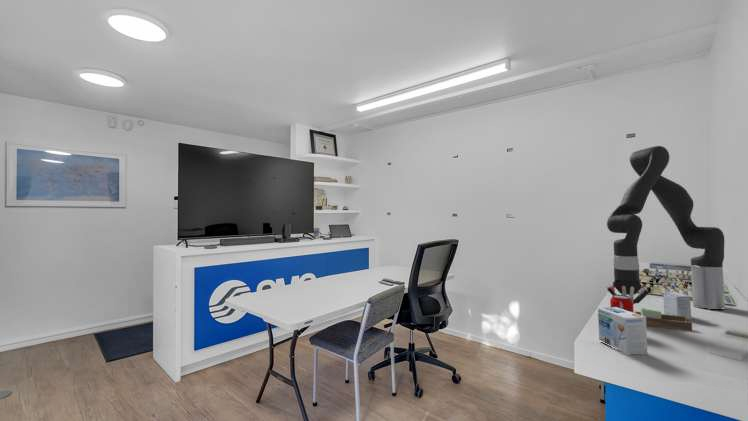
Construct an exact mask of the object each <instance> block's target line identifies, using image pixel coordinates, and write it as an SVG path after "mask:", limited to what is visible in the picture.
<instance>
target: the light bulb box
mask: <svg viewBox="0 0 748 421" xmlns="http://www.w3.org/2000/svg"><path fill="white" fill-rule="evenodd" d="M597 313H598V314H597V315H598V341H599V340H601V341H603V342H605V343H607V344H609V345H611V346H613V347H615V348H617V349H618V350H620V351H621V352H622V353H621V352H620V353H621V354H623V353H624V354H623V355H626V356H632V355H631V354H640V355H648V337H647V336H648V333H647V332H648V331H647V325H646V317H645V316H642V315H639V314H636V313H635V312H634V313H633V312H630V311H627V310H624V309H621V308H618V307H611V306H610V307H599V308H598V309H597Z"/></svg>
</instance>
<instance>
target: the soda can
mask: <svg viewBox="0 0 748 421" xmlns="http://www.w3.org/2000/svg"><path fill="white" fill-rule="evenodd" d="M609 300H610V308H611V307H618V308H621V309H624V310H627V311H630V312H633V313H635V311H634V310H635V309H634V304H633V301H632V300H631V297H630V296H628V295H627V296H626V295H622V294H617V295H612V294H611V298H610V299H609Z"/></svg>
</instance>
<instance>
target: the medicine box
mask: <svg viewBox="0 0 748 421" xmlns="http://www.w3.org/2000/svg"><path fill="white" fill-rule="evenodd" d="M662 295H663V311H664V313H663V314H666V315H677V316H684V317H685V321H687V320H690V321H691V320H692V307H691V306H692V305H691V296H689V295H687V294H684V293H680V292H676V291H663V292H662Z"/></svg>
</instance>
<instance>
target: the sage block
mask: <svg viewBox="0 0 748 421" xmlns="http://www.w3.org/2000/svg"><path fill="white" fill-rule="evenodd" d="M639 309H640V312H641V315H642V316H645V317H646V318H656V319H661V314H662V311H661V310H660V309H659V308H656V307H645V306H640V308H639Z"/></svg>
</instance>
